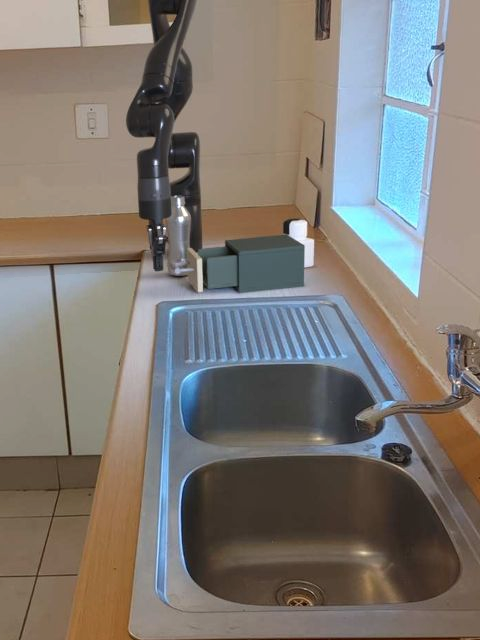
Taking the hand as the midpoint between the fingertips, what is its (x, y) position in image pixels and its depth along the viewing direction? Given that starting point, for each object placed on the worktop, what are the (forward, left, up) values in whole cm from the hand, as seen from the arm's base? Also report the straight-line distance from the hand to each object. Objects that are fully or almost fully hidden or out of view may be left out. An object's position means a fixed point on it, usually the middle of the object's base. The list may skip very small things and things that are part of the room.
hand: (158, 270), depth 178 cm
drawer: (0, +13, -5) cm, 14 cm away
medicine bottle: (-12, +38, -6) cm, 40 cm away
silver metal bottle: (-14, +8, -6) cm, 17 cm away
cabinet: (0, +26, -6) cm, 26 cm away
